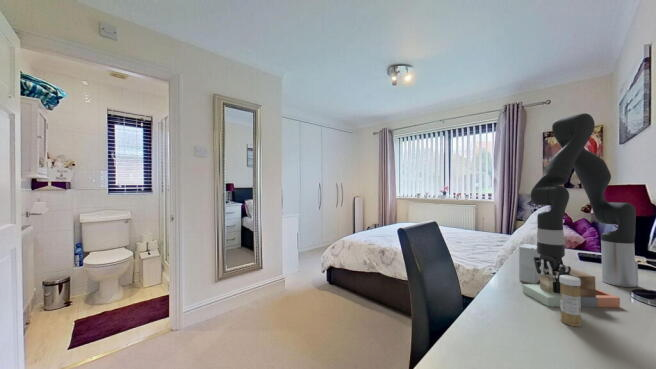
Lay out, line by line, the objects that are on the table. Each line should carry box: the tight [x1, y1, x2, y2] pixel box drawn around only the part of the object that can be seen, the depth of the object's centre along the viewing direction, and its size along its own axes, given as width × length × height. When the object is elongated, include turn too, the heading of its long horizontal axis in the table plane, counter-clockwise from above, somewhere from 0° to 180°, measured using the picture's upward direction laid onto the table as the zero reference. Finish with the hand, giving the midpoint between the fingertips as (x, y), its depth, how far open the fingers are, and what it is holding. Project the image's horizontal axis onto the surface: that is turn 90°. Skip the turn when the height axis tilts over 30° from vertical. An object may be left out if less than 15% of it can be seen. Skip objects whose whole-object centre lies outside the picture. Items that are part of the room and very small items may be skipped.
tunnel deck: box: [522, 268, 621, 308], centre depth 93 cm, size 23×12×10 cm, turn 88°
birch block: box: [539, 274, 558, 293], centre depth 93 cm, size 12×4×5 cm, turn 88°
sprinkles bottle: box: [559, 275, 582, 327], centre depth 77 cm, size 5×5×14 cm
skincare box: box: [518, 243, 541, 284], centre depth 112 cm, size 8×6×15 cm
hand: (551, 289), depth 93 cm, fingers closed on birch block, 4 cm apart
